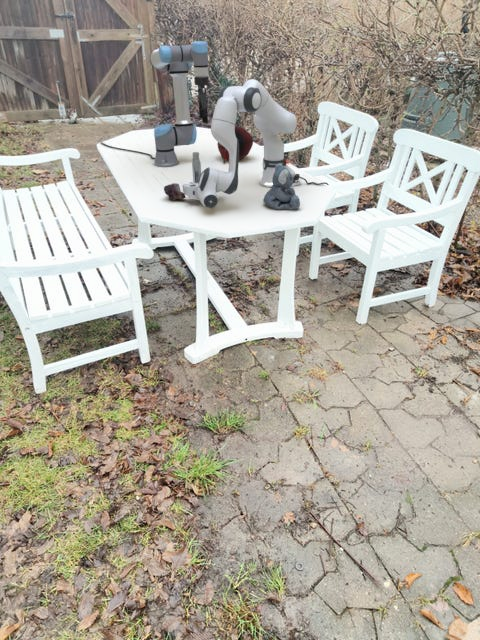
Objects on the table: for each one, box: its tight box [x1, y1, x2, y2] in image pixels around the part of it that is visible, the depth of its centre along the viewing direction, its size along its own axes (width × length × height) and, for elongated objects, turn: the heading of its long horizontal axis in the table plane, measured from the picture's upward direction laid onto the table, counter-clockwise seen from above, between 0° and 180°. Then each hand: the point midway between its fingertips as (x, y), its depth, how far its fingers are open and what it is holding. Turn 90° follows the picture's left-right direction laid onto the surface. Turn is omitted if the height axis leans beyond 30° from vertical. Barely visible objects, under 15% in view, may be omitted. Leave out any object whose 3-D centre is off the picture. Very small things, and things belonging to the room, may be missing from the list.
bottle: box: [191, 151, 202, 183], centre depth 244 cm, size 5×5×20 cm
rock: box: [163, 182, 187, 201], centre depth 236 cm, size 12×9×10 cm
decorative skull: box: [217, 125, 254, 164], centre depth 298 cm, size 21×24×25 cm
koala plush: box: [262, 164, 301, 211], centre depth 224 cm, size 17×18×20 cm
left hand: (203, 120), depth 245 cm, fingers open, 13 cm apart
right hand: (199, 183), depth 239 cm, fingers open, 8 cm apart
